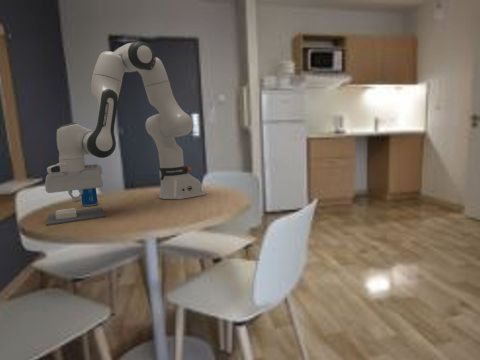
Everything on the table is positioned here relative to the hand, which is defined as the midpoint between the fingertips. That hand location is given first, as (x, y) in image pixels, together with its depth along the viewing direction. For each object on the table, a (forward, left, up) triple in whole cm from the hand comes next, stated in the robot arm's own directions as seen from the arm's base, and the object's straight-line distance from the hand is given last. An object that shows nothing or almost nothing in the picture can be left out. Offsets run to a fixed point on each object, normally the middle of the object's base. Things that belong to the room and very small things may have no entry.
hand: (76, 201), depth 141 cm
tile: (+1, 0, -4) cm, 4 cm away
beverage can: (-5, -20, -6) cm, 22 cm away
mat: (+1, 0, -6) cm, 6 cm away
